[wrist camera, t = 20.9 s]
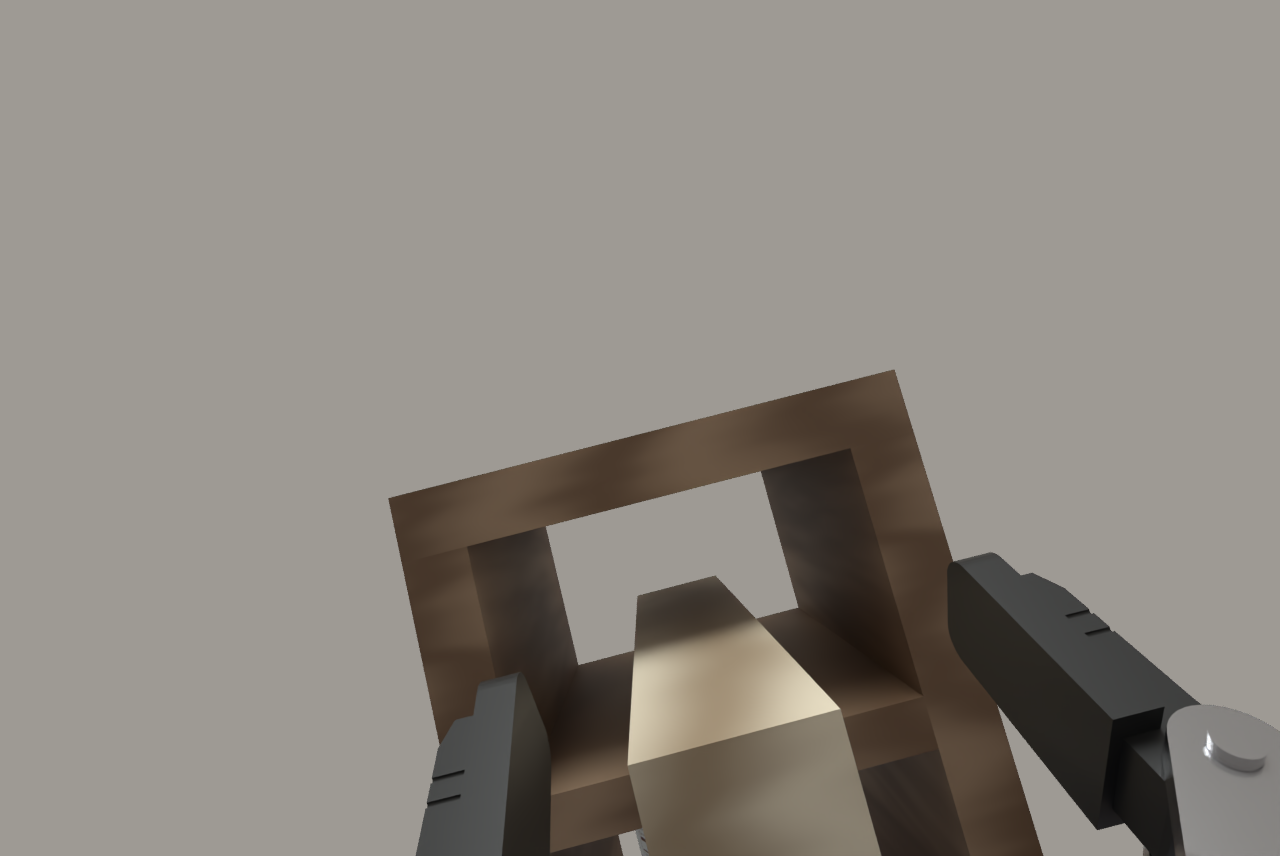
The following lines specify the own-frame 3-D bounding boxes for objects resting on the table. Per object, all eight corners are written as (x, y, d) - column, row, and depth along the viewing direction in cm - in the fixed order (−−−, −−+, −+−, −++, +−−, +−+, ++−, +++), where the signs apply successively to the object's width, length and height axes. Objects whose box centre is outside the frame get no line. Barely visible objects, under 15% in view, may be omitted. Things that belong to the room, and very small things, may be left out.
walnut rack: (640, 1709, 16) (388, 498, 19) (642, 1119, 31) (500, 498, 34) (1249, 1528, 16) (894, 369, 19) (958, 1032, 31) (785, 425, 34)
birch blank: (669, 940, 11) (627, 765, 11) (652, 656, 31) (637, 595, 31) (888, 880, 11) (840, 709, 11) (731, 635, 31) (715, 575, 31)
